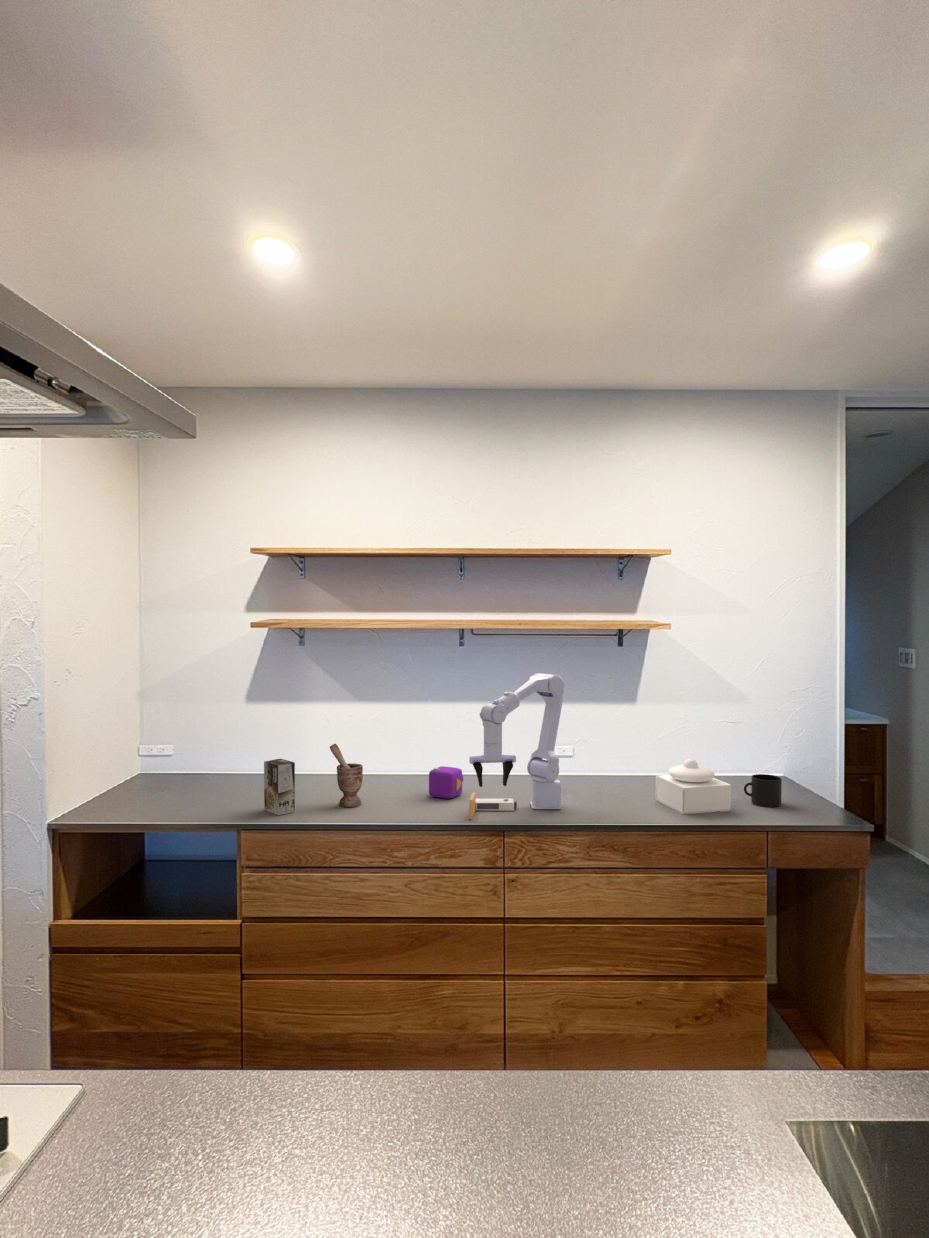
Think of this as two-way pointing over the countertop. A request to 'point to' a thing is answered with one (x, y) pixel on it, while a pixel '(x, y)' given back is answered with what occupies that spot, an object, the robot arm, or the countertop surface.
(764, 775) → the mug
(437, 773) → the toy camera
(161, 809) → the countertop surface
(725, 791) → the butter dish
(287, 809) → the coffee box
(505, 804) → the cream tapered panel
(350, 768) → the mortar and pestle
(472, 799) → the side door
